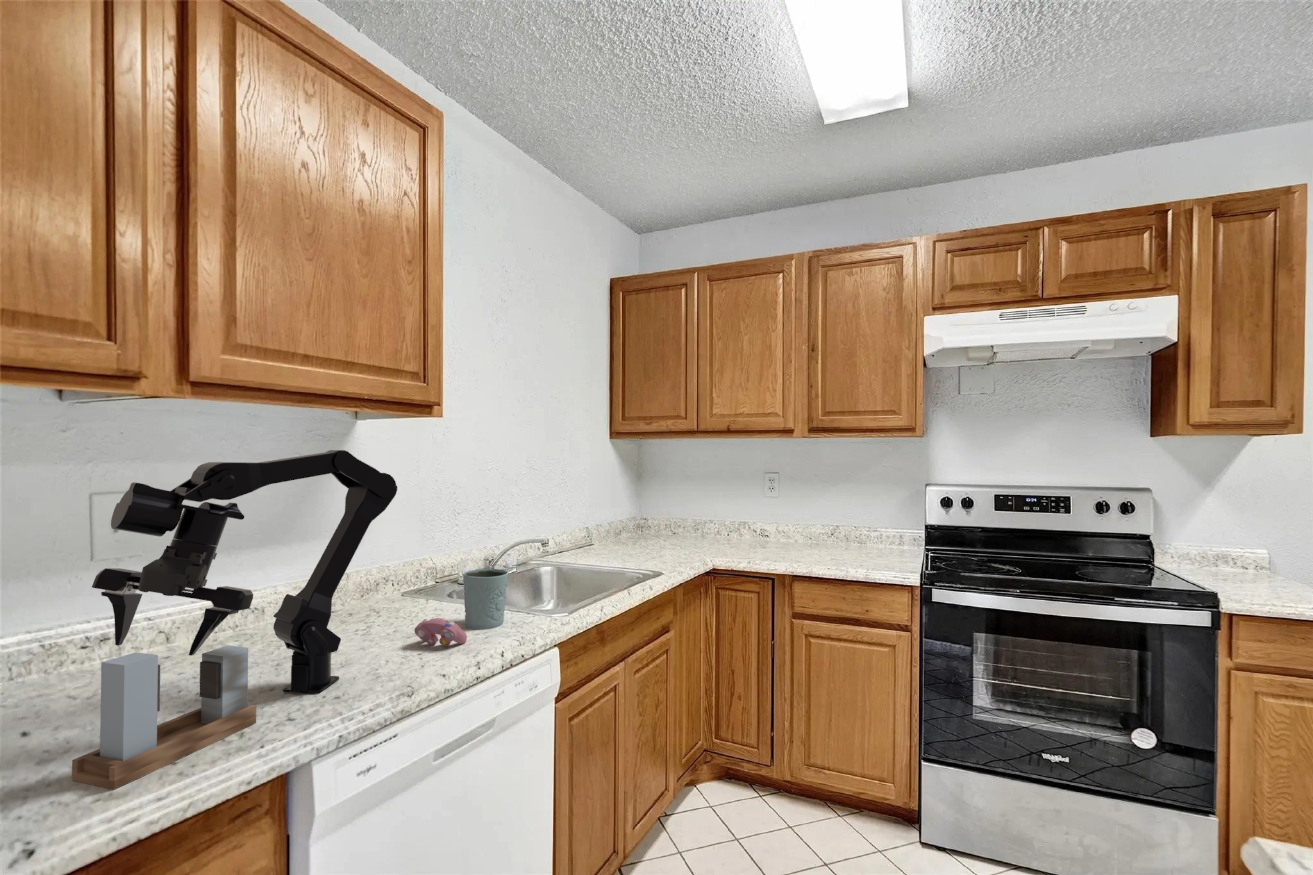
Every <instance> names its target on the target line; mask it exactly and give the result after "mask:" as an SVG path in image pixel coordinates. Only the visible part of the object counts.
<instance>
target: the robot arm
mask: <svg viewBox="0 0 1313 875" xmlns="http://www.w3.org/2000/svg"><path fill="white" fill-rule="evenodd" d="M329 474H331V475H332V476H334V478H335V479H336V481H338V482H339V484H341V486H344V487H345V488H347V492H346V495H345V498H344V499H345V502H344V504H345V506H344V513H343V516H342V518H341V519H340V521H339V523H338V524H337V527H336V529H335V530H334V532H333V534H332V536H331V537H330V539H329V541H328V544H327V546H326V547H325V549H324V551H323V553H322V554H321V557H320V558H319V560H318V562H317V564H316V566H315V568H314V570H313V571H312V574H310V577H309V579H308V580H307V582H306V585H305V586H304V587H303V589H301V590H300V591H299V592H298V593H297V594H295V595H292V594H289V593H287V594H285V596H284V598H283V600H282V602H281V605H280V607H279V609H278V611H276V612H275V613H274V614H273V616H272V617H273V618H275V620H274V623H273V626H272V627H273V628H272V629H273V631H274V633H275V636H276V637H277V639H279V640H281V641H283V643H284V645H285V647H286V649H288V650H290V651H292V655H291V667H290V684H288V685H287V686H285V687H283V688H282V689H281V690H282V692H283V693H305V694H306V693H309V694H313V693H315V694H316V693H318V694H319V693H321V692H322V691H324V690H326V689H327V688H328V687H330V686H331V685H333V684H334V683H335V682H338V681H339V680H340V676H339V675H332V670H331V669H332V653H335V652H337V651H338V650H339V647H340V644H341V640H342V638H341V637H340V636H338V634H335V633H334V632H333V631H332V630H330V629H329V628H328V625H329V623H330V620H331V618H332V607H333V606H332V604H333V597H334V595H335V592H336V590H337V589H338V586H339V585H340V583H341V582H342V579H343V577H344V575H345V573H346V571H347V570H348V568H349V566H350V563H351V562H352V560H353V557H354V555H355V554H356V552H357V550H358V548H359V546H360V545H361V542H362V540H363V539H364V536H365V534H366V533H367V530H368V528H369V527H370V525H371V523H372V522H373V521H374V520H375V519H376V518H377V517H379V516H380V515H381V514H382V513H383V512H385V511H386V510H387V508H388V507H389V505H390V504H391V503H392V501H393V499H394V498H395V497H396V495H397V491H398V485H397V483H396V480H395V478H394V477H393V476H392V475H391V474H389V473H387V472H380V471H379V470H378V469H376V468H375V467H373V466H371V465H370V464H367V463H366V462H364V461H362V460H361V459H359V458H357V457H356V456H354V454H352V453H351V452H349V451H348V450H345V449H335V450H334V449H330V450H327V451H325V452H320V453H313V454H307V455H298V456H292V457H286V458H279V459H278V458H277V459H273V460H266V461H258V462H249V461H248V462H246V461H245V462H241V461H240V462H238V461H237V462H235V461H230V462H229V461H224V462H223V461H222V462H221V461H212V462H211V461H210V462H205V463H201V464H200V465H198V466H197V467H196V469H195V470H193V472H192V475H191V476H190V478H188V479H187V480H186V481H184V482H182V483H181V484H179V485H177V486H176V487H174V488H172V489H171V490H166V489H161V488H158V487H153V486H151V485H148V484H145V483H141V482H136V481H135V482H131V483H130V486H129V488H128V490H126V492H125V493H124V494H123V495H122V497H121V498H120V500H119V502H117V503H116V504H115V507H114V509H113V512H112V516H111V520H110V526H111V529H112V530H118V531H124V532H128V533H129V532H130V533H134V534H135V533H137V534H141V535H148V536H154V537H162V536H164V535H165V534H166V533H167V532H173V531H174V530H175V531H174V534H173V537H172V539H171V542H170V544H169V545H166V547H165V549H164V550H163V552H162V554H161V556H160V557H159V558H157V559H154V560H153V561H151V562H149V563H148V564H146V565H144V566H143V567H142V569H141V570H142V571H139V570H138V571H137V570H134V569H133V570H132V569H126V568H119V567H118V568H111V567H110V568H109V567H108V568H104V569H102V570H100V571H98V573H97V574H96V575H95V578H94V580H93V583H92V586H91V588H93V589H97V590H104V591H101V592H100V596H102V597H107V598H108V600H109V602H110V603H111V605H112V606H111V607H112V612H113V615H114V618H113V619H114V645H115V646H122V645H123V643H124V641H125V640H126V637H127V635H128V633H129V631H130V627H131V625H132V623H133V620H134V617H135V615H136V612H137V610H138V607H139V604H140V602H141V599H142V597H143V593H148V592H150V593H157V594H162V595H163V596H165V597H173V596H175V597H182V598H188V599H194V600H200V601H207V602H211V603H212V607H208V608H205V609H204V615H203V620H202V621H201V624H200V625H199V628H198V629H197V632H196V635H195V637H194V639H193V641H192V643H191V644H190V645H191V646H190V649H189V652H188V655H189V656H195V654H196V653H197V652H198V651H199V649H200V648H201V647H202V645H204V643H205V641H206V640H207V639H208V638H209V636H211V635H212V633H213V632H214V631H215V630H216V629H217V628H218V626H219V625H220V624H221V623H222V622H224V620H225V619H226V618H227V617H228V616H230V615H236V614H238V613H239V612H240V611H245V610H249V609H250V608H251V605H252V601H253V599H254V593H253V591H252V590H251V589H247V588H246V589H245V588H241V587H240V588H239V587H234V586H228V585H227V586H226V585H225V586H217V587H216V588H209V587H206V585H207V583H208V579H207V577H208V574H209V571H210V568H211V566H212V562H213V560H216V557H217V554H218V552H217V550H218V545H219V543H220V540H221V537H222V535H223V533H224V529H225V527H226V524H227V521H228V519H235V520H244V519H245V515H244V513H242V511H241V510H240V509H239V505H238V503H236V502H228V503H226V504H225V505H222V504H218V503H215V502H214V503H213V502H208V501H209V500H218V501H230V500H233V499H235V498H238V497H239V498H240V497H241V496H242V497H243V496H245V495H247V494H251V493H253V492H255V491H257V490H259V489H261V488H263V487H267V486H270V485H275V484H279V483H285V482H290V481H296V480H297V481H298V480H301V479H307V478H312V477H318V476H323V475H324V476H325V475H329ZM184 501H189V502H191V501H192V502H196V503H201V502H202V503H201V504H200V505H199V506H198V507H196V506H192V505H187V504H183V502H184ZM137 591H139V593H138V592H137ZM140 592H141V593H140Z"/></svg>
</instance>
